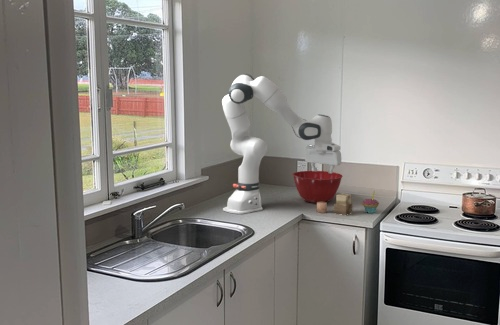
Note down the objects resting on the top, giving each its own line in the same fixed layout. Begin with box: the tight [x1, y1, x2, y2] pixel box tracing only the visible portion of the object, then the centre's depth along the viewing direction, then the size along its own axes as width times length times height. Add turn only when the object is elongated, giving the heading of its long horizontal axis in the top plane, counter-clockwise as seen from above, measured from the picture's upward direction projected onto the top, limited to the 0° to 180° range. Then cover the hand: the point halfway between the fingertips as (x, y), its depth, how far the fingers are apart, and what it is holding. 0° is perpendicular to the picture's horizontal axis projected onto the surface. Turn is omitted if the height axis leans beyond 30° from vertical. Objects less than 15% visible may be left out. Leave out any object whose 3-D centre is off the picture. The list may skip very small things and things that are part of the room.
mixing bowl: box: [292, 170, 343, 204], centre depth 297 cm, size 28×28×16 cm
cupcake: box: [361, 190, 380, 214], centre depth 271 cm, size 9×8×12 cm
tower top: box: [335, 192, 352, 206], centre depth 268 cm, size 6×6×5 cm
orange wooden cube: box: [316, 202, 328, 214], centre depth 272 cm, size 5×5×5 cm
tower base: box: [333, 203, 353, 216], centre depth 269 cm, size 7×7×5 cm
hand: (322, 172), depth 269 cm, fingers open, 8 cm apart
